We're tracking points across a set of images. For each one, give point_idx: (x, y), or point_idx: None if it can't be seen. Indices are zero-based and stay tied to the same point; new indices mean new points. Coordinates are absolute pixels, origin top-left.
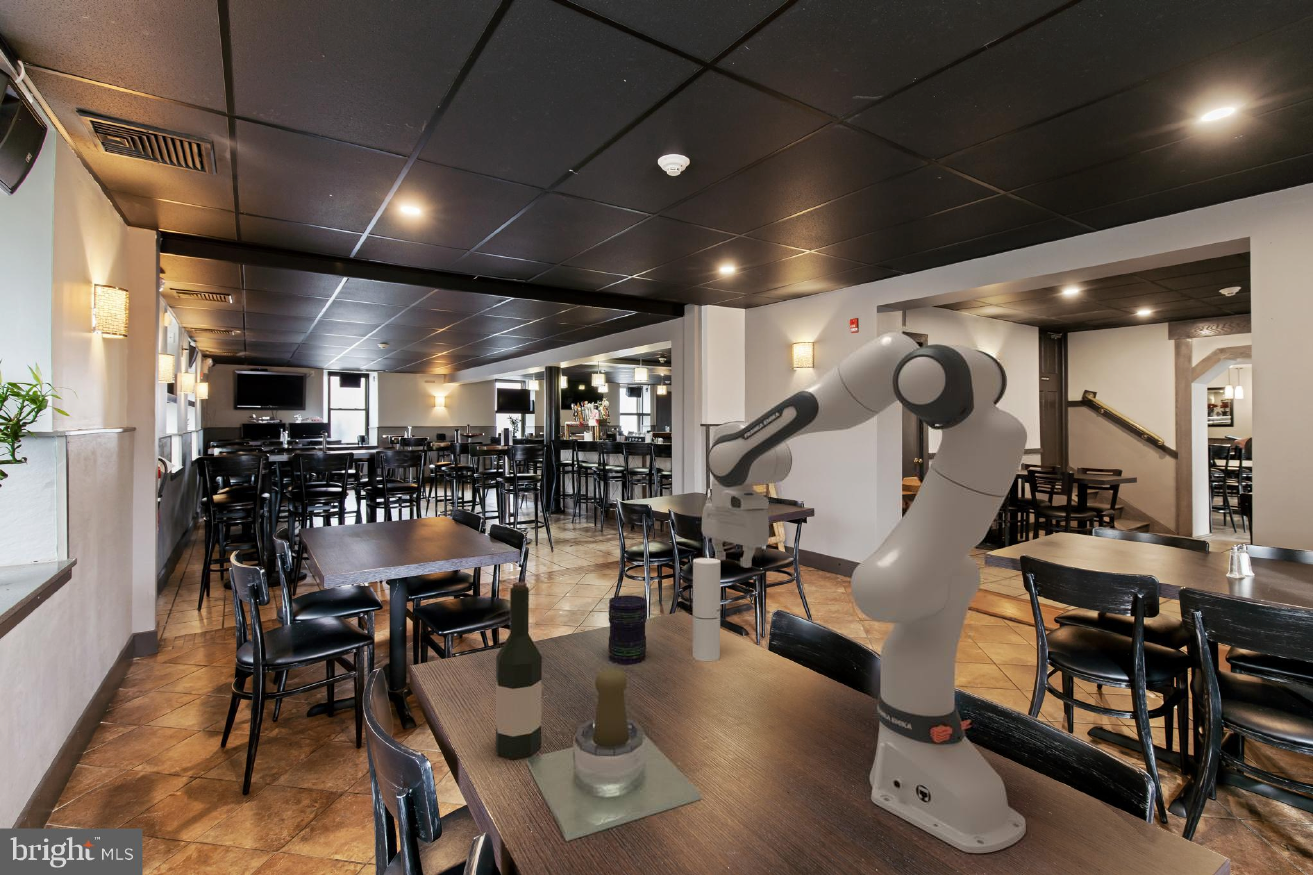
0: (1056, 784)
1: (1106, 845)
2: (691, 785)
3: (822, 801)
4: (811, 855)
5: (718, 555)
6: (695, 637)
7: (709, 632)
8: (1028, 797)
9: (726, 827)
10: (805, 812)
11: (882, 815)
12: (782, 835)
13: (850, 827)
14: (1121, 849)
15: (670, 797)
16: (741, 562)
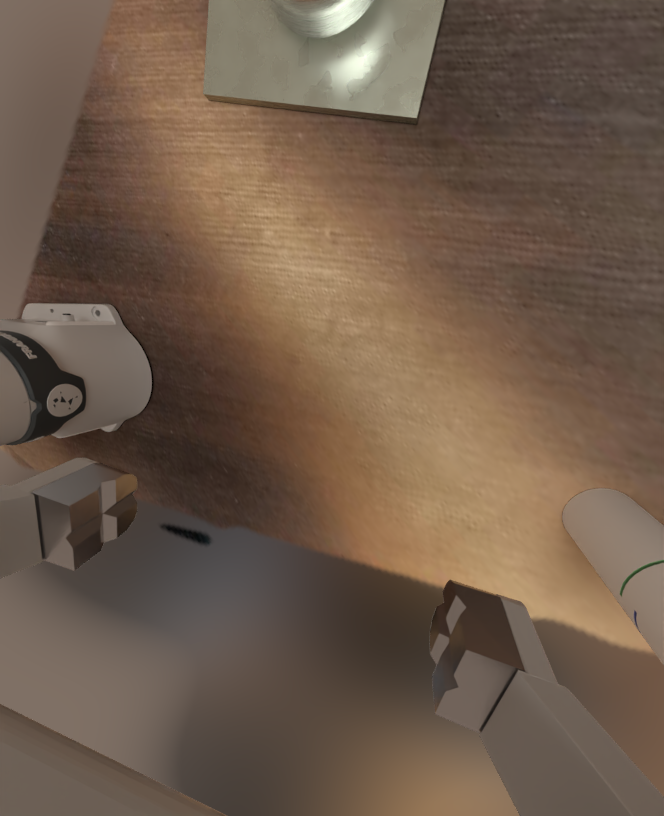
0: None
1: None
2: (224, 92)
3: (137, 256)
4: (78, 157)
5: (469, 615)
6: (646, 520)
7: (609, 543)
8: (65, 438)
9: (149, 92)
10: (131, 218)
11: (95, 293)
12: (112, 153)
13: (94, 241)
14: None
15: (217, 33)
16: (89, 478)
